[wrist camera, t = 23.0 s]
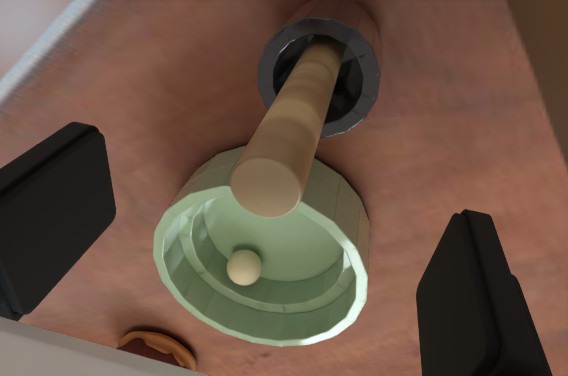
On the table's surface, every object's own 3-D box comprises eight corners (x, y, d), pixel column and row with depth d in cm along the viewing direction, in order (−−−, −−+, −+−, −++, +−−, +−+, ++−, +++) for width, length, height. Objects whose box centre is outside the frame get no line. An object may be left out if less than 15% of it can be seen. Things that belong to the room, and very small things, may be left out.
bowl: (152, 169, 32) (112, 213, 28) (333, 116, 27) (322, 160, 22) (235, 298, 39) (214, 351, 35) (391, 278, 34) (393, 339, 29)
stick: (308, 30, 23) (215, 168, 10) (340, 16, 23) (282, 146, 10) (321, 62, 24) (250, 225, 11) (352, 49, 23) (314, 209, 10)
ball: (247, 237, 33) (220, 260, 32) (272, 262, 33) (246, 287, 31) (242, 249, 36) (217, 271, 34) (265, 273, 35) (241, 296, 34)
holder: (267, 19, 24) (237, 44, 19) (364, -22, 22) (358, -5, 17) (302, 107, 27) (284, 149, 22) (391, 80, 24) (393, 119, 20)
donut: (166, 318, 44) (148, 349, 41) (215, 370, 48) (203, 402, 45) (106, 332, 48) (86, 362, 45) (156, 378, 52) (141, 409, 49)
